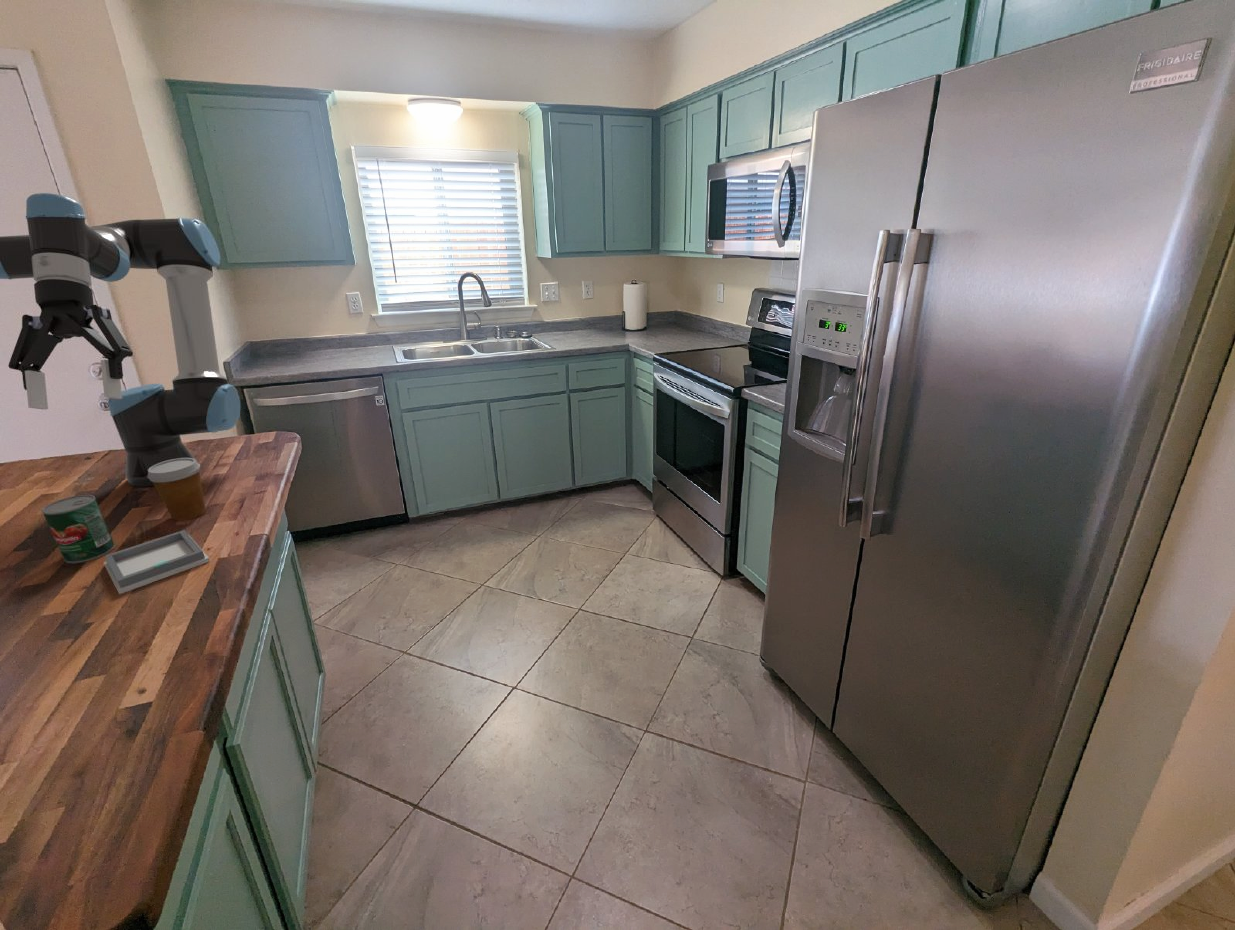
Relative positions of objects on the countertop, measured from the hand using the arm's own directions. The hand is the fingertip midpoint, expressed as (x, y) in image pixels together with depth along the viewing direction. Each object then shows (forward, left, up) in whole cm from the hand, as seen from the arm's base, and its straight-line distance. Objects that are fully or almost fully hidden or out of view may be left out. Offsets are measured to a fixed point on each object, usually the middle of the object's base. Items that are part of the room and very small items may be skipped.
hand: (75, 403), depth 103 cm
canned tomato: (-9, -6, -32) cm, 33 cm away
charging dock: (+7, +2, -31) cm, 32 cm away
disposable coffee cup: (-13, +12, -32) cm, 36 cm away
